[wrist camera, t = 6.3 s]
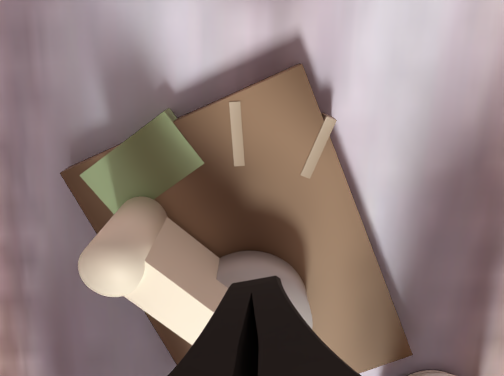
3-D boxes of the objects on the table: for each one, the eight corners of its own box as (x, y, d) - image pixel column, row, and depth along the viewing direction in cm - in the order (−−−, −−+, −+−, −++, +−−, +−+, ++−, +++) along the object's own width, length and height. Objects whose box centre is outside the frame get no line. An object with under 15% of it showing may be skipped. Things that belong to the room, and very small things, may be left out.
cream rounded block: (330, 298, 21) (352, 365, 17) (253, 367, 22) (254, 447, 18) (161, 159, 19) (132, 192, 14) (87, 246, 20) (39, 302, 16)
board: (214, 406, 25) (212, 424, 24) (64, 155, 20) (52, 161, 19) (413, 337, 24) (422, 352, 22) (305, 46, 19) (308, 45, 17)
